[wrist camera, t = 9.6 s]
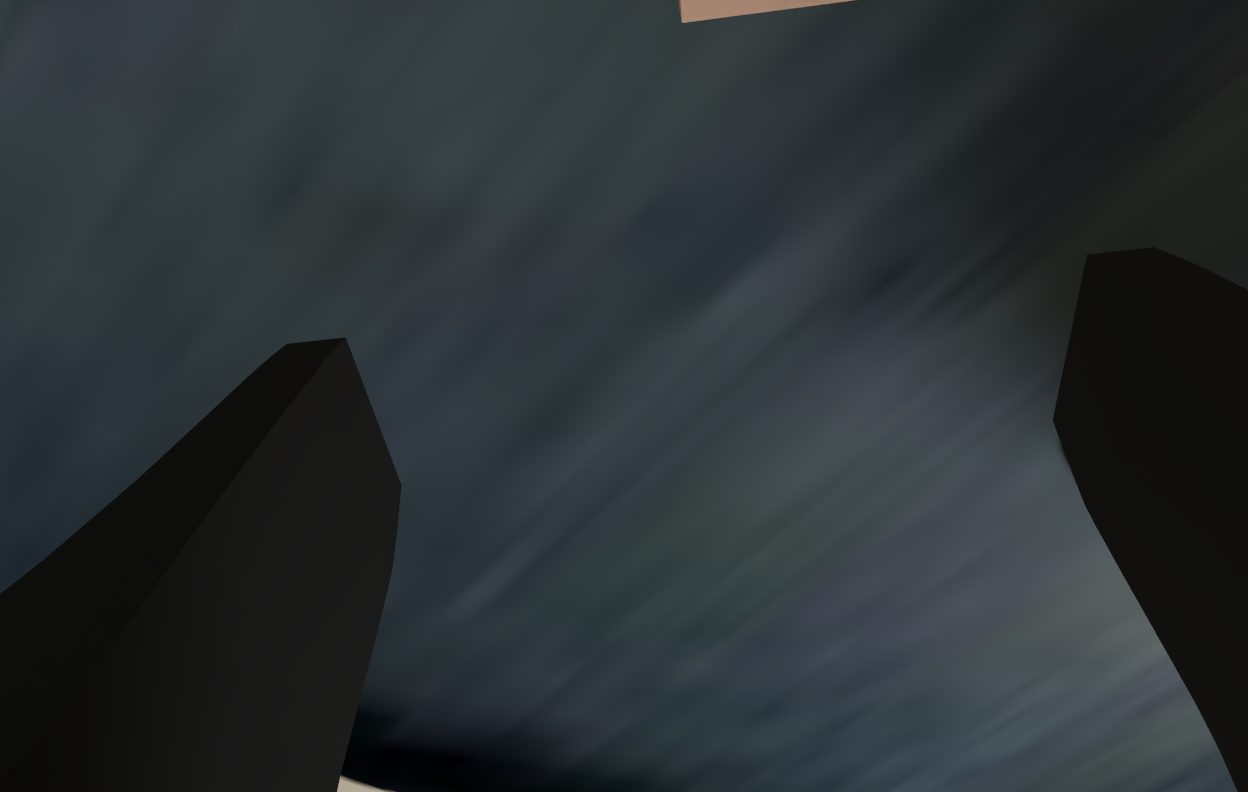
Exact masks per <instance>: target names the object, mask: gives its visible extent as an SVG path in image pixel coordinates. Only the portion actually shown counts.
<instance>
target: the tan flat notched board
mask: <svg viewBox="0 0 1248 792" xmlns="http://www.w3.org/2000/svg"><path fill="white" fill-rule="evenodd" d="M845 1H853V0H678V4H679V9H680V14H681V20H682V23H685V22H693V21H701V20H708V19H716V18H723V17H731V16H739V15H746V14H754V13H761V12H769V11H777V10H784V9H792V8H799V7H807V6H815V5H822V4H830V3H838V2H845Z"/></svg>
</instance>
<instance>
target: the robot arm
mask: <svg viewBox="0 0 1248 792" xmlns="http://www.w3.org/2000/svg"><path fill="white" fill-rule="evenodd" d="M1053 422H1054V424H1055V427H1056V430H1057V433H1058V436H1059V438H1060V441H1061V444H1062V447H1063V449H1064V452H1065V455H1066V458H1067V460H1068V464H1069V468H1070V470H1071V471H1072V474H1073V476H1074V479H1075V481H1076V484H1077V486H1078V489H1079V491H1080V494H1081V496H1082V499H1083V501H1084V504H1085V506H1086V508H1087V510H1088V512H1089V514H1090V516H1091V517H1092V519H1093V521H1094V523H1095V525H1096V527H1097V529H1098V530H1099V532H1100V534H1101V536H1102V538H1103V539H1104V541H1105V543H1106V545H1107V547H1108V549H1109V550H1110V552H1111V554H1112V556H1113V558H1114V559H1115V561H1116V563H1117V565H1118V567H1119V568H1120V570H1121V572H1122V574H1123V576H1124V577H1125V579H1126V581H1127V583H1128V585H1129V586H1130V588H1131V590H1132V592H1133V593H1134V595H1135V597H1136V599H1137V600H1138V602H1139V604H1140V606H1141V608H1142V609H1143V611H1144V613H1145V615H1146V616H1147V618H1148V620H1149V622H1150V623H1151V625H1152V627H1153V629H1154V630H1155V632H1156V634H1157V636H1158V638H1159V639H1160V641H1161V643H1162V645H1163V646H1164V648H1165V650H1166V652H1167V654H1168V655H1169V657H1170V659H1171V661H1172V662H1173V664H1174V666H1175V668H1176V669H1177V671H1178V673H1179V675H1180V677H1181V678H1182V680H1183V682H1184V684H1185V685H1186V687H1187V689H1188V691H1189V692H1190V694H1191V696H1192V698H1193V700H1194V701H1195V703H1196V705H1197V707H1198V709H1199V711H1200V713H1201V715H1202V717H1203V719H1204V721H1205V723H1206V725H1207V727H1208V728H1209V730H1210V732H1211V734H1212V736H1213V738H1214V740H1215V742H1216V744H1217V746H1218V748H1219V750H1220V752H1221V754H1222V757H1223V759H1224V761H1225V764H1226V766H1227V768H1228V770H1229V773H1230V775H1231V777H1232V780H1233V782H1234V784H1235V787H1236V789H1237V791H1238V792H1248V290H1247V289H1245V288H1243V287H1241V286H1239V285H1237V284H1235V283H1233V282H1230V281H1228V280H1226V279H1224V278H1222V277H1220V276H1218V275H1216V274H1214V273H1212V272H1210V271H1208V270H1206V269H1204V268H1201V267H1199V266H1197V265H1195V264H1193V263H1191V262H1188V261H1186V260H1184V259H1182V258H1179V257H1177V256H1175V255H1172V254H1170V253H1167V252H1165V251H1162V250H1159V249H1157V248H1154V247H1153V248H1144V249H1135V250H1126V251H1117V252H1108V253H1099V254H1091V255H1087V258H1086V263H1085V268H1084V273H1083V277H1082V282H1081V287H1080V292H1079V297H1078V301H1077V306H1076V311H1075V316H1074V321H1073V326H1072V330H1071V335H1070V340H1069V345H1068V350H1067V354H1066V359H1065V364H1064V369H1063V374H1062V378H1061V383H1060V388H1059V393H1058V398H1057V403H1056V407H1055V412H1054V417H1053ZM400 494H401V483H400V480H399V478H398V475H397V472H396V470H395V467H394V464H393V462H392V459H391V457H390V454H389V451H388V449H387V446H386V443H385V441H384V438H383V435H382V433H381V430H380V427H379V425H378V422H377V419H376V417H375V414H374V411H373V409H372V406H371V404H370V401H369V398H368V396H367V393H366V390H365V388H364V385H363V382H362V380H361V377H360V374H359V372H358V369H357V366H356V364H355V361H354V359H353V356H352V353H351V351H350V348H349V345H348V343H347V340H346V338H337V339H328V340H319V341H310V342H301V343H292V344H286V345H285V346H284V347H282V348H281V349H280V350H279V351H277V352H276V353H275V354H274V355H272V356H271V357H270V358H269V359H268V360H266V361H265V362H264V363H263V364H262V365H261V366H260V367H258V368H257V369H256V370H255V371H254V372H253V373H252V374H251V375H250V376H248V377H247V378H246V379H245V380H244V381H243V382H242V383H241V384H240V385H239V386H238V387H236V388H235V389H234V390H233V391H232V392H231V393H230V394H229V395H228V396H227V397H226V398H225V399H224V400H223V401H222V402H220V403H219V404H218V405H217V406H216V407H215V408H214V409H213V410H212V411H211V412H210V413H209V414H208V415H207V416H206V417H205V418H203V419H202V420H201V421H200V422H199V423H198V424H197V425H196V426H195V427H194V428H193V429H192V430H191V431H189V432H188V433H187V434H186V435H185V436H184V437H183V438H182V439H181V440H180V441H179V442H178V443H176V444H175V445H174V446H173V447H172V448H171V449H170V450H169V451H168V452H167V453H166V454H165V455H164V456H162V457H161V458H160V459H159V460H158V461H157V462H156V463H155V464H154V465H153V466H152V467H151V468H149V469H148V470H147V471H146V472H145V473H144V474H143V475H142V476H141V477H140V478H139V479H137V480H136V481H135V482H134V483H133V484H132V485H131V486H129V487H128V488H127V489H126V490H125V491H124V492H122V493H121V494H120V495H119V496H118V497H117V498H115V499H114V500H113V501H112V502H111V503H110V504H108V505H107V506H106V507H105V508H104V509H103V510H101V511H100V512H99V513H98V514H97V515H96V516H94V517H93V518H92V519H91V520H90V521H89V522H87V523H86V524H85V525H84V526H83V527H82V528H80V529H79V530H78V531H77V532H76V533H75V534H73V535H72V536H71V537H70V538H69V539H68V540H66V541H65V542H64V543H63V544H62V545H61V546H59V547H58V548H57V549H56V550H55V551H54V552H52V553H51V554H50V555H49V556H48V557H47V558H45V559H44V560H43V561H42V562H40V563H39V564H38V565H37V566H35V567H34V568H33V569H32V570H30V571H29V572H28V573H27V574H25V575H24V576H23V577H22V578H20V579H19V580H18V581H16V582H15V583H14V584H13V585H11V586H10V587H9V588H7V589H6V590H5V591H4V592H2V593H1V594H0V792H337V788H338V783H339V779H340V774H341V770H342V766H343V762H344V758H345V755H346V751H347V747H348V743H349V739H350V735H351V731H352V728H353V724H354V720H355V716H356V712H357V708H358V704H359V700H360V697H361V693H362V689H363V685H364V681H365V677H366V673H367V669H368V666H369V662H370V658H371V654H372V650H373V646H374V642H375V638H376V634H377V630H378V626H379V622H380V618H381V614H382V610H383V606H384V602H385V598H386V594H387V590H388V586H389V582H390V577H391V573H392V567H393V559H394V551H395V543H396V535H397V525H398V515H399V504H400Z"/></svg>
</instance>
